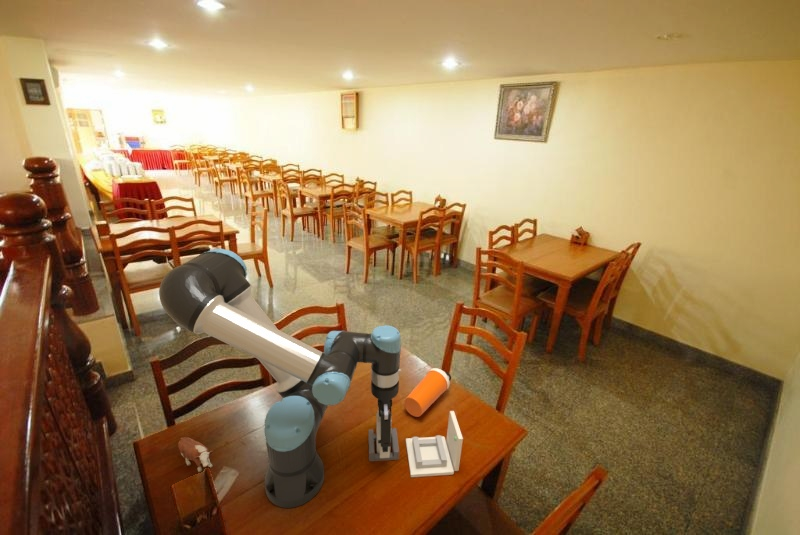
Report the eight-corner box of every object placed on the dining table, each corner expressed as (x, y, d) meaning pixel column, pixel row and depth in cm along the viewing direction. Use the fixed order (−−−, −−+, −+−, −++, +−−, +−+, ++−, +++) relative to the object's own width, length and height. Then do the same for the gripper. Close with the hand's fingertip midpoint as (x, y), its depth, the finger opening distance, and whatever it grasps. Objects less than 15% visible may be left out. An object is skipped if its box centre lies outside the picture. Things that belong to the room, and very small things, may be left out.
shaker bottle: (424, 400, 110) (453, 368, 126) (400, 391, 115) (431, 361, 131) (425, 423, 113) (453, 389, 128) (402, 413, 118) (432, 381, 133)
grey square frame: (369, 461, 100) (369, 453, 99) (368, 436, 108) (368, 429, 107) (398, 459, 101) (399, 451, 100) (396, 435, 109) (396, 428, 108)
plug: (376, 454, 102) (377, 417, 97) (376, 442, 106) (376, 406, 101) (390, 453, 103) (391, 416, 98) (389, 441, 106) (390, 405, 101)
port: (410, 477, 96) (413, 444, 91) (405, 441, 107) (407, 410, 103) (459, 474, 97) (463, 441, 93) (449, 438, 108) (453, 408, 104)
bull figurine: (206, 484, 92) (200, 462, 89) (178, 459, 98) (172, 437, 95) (221, 471, 95) (217, 449, 92) (193, 448, 102) (188, 426, 99)
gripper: (403, 410, 85) (400, 475, 93) (395, 354, 106) (392, 411, 114) (372, 411, 84) (371, 477, 92) (370, 355, 105) (369, 412, 113)
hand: (383, 440), depth 103 cm, fingers open, 10 cm apart
